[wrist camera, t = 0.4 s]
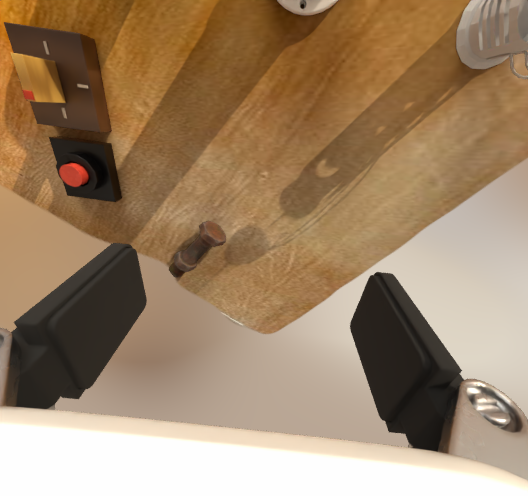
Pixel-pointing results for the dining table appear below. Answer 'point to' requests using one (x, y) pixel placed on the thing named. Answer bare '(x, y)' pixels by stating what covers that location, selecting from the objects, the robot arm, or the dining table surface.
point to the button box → (89, 167)
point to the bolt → (197, 248)
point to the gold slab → (38, 79)
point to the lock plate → (66, 76)
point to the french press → (493, 33)
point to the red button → (74, 174)
